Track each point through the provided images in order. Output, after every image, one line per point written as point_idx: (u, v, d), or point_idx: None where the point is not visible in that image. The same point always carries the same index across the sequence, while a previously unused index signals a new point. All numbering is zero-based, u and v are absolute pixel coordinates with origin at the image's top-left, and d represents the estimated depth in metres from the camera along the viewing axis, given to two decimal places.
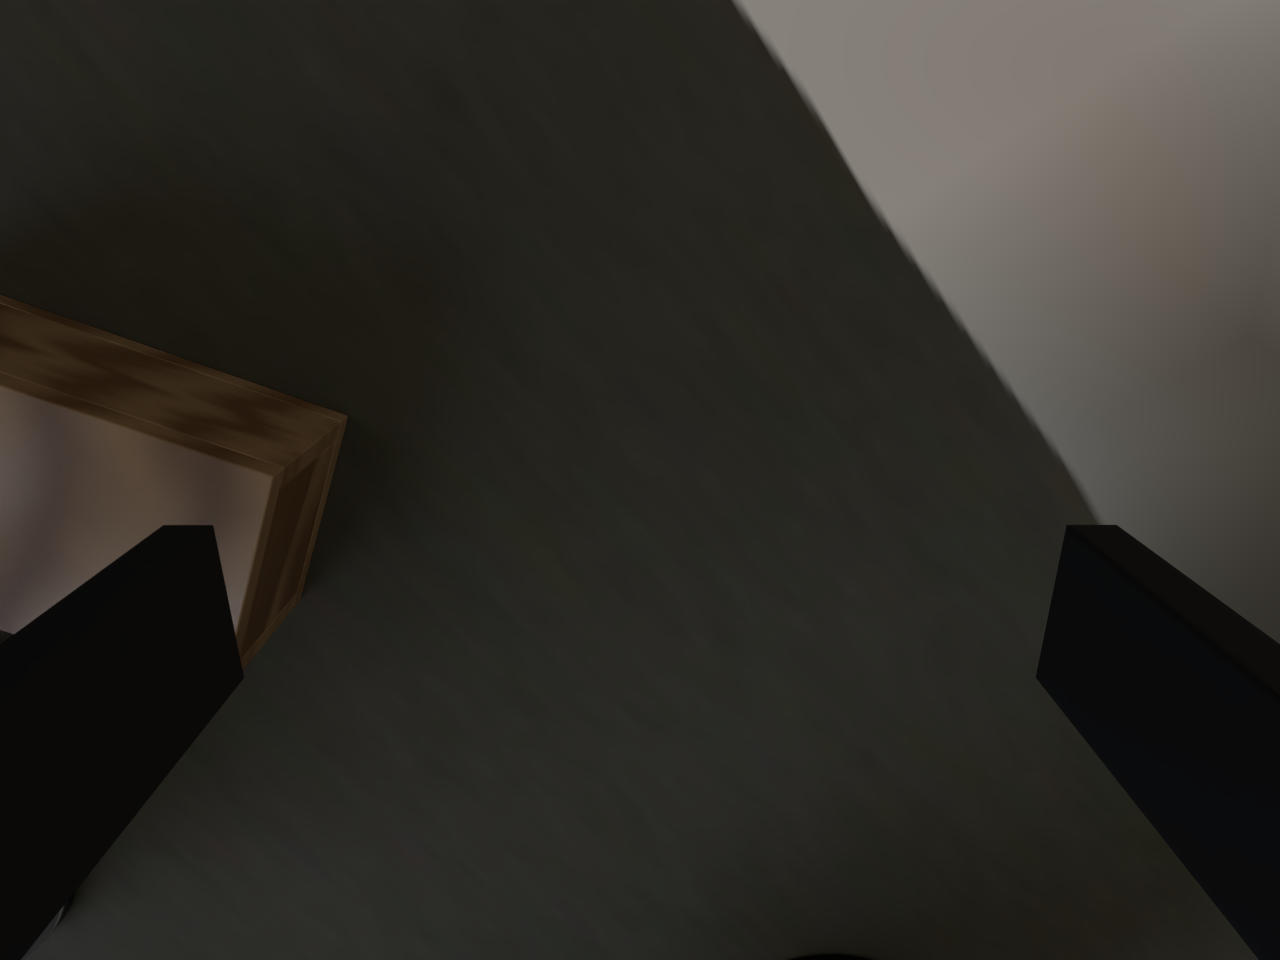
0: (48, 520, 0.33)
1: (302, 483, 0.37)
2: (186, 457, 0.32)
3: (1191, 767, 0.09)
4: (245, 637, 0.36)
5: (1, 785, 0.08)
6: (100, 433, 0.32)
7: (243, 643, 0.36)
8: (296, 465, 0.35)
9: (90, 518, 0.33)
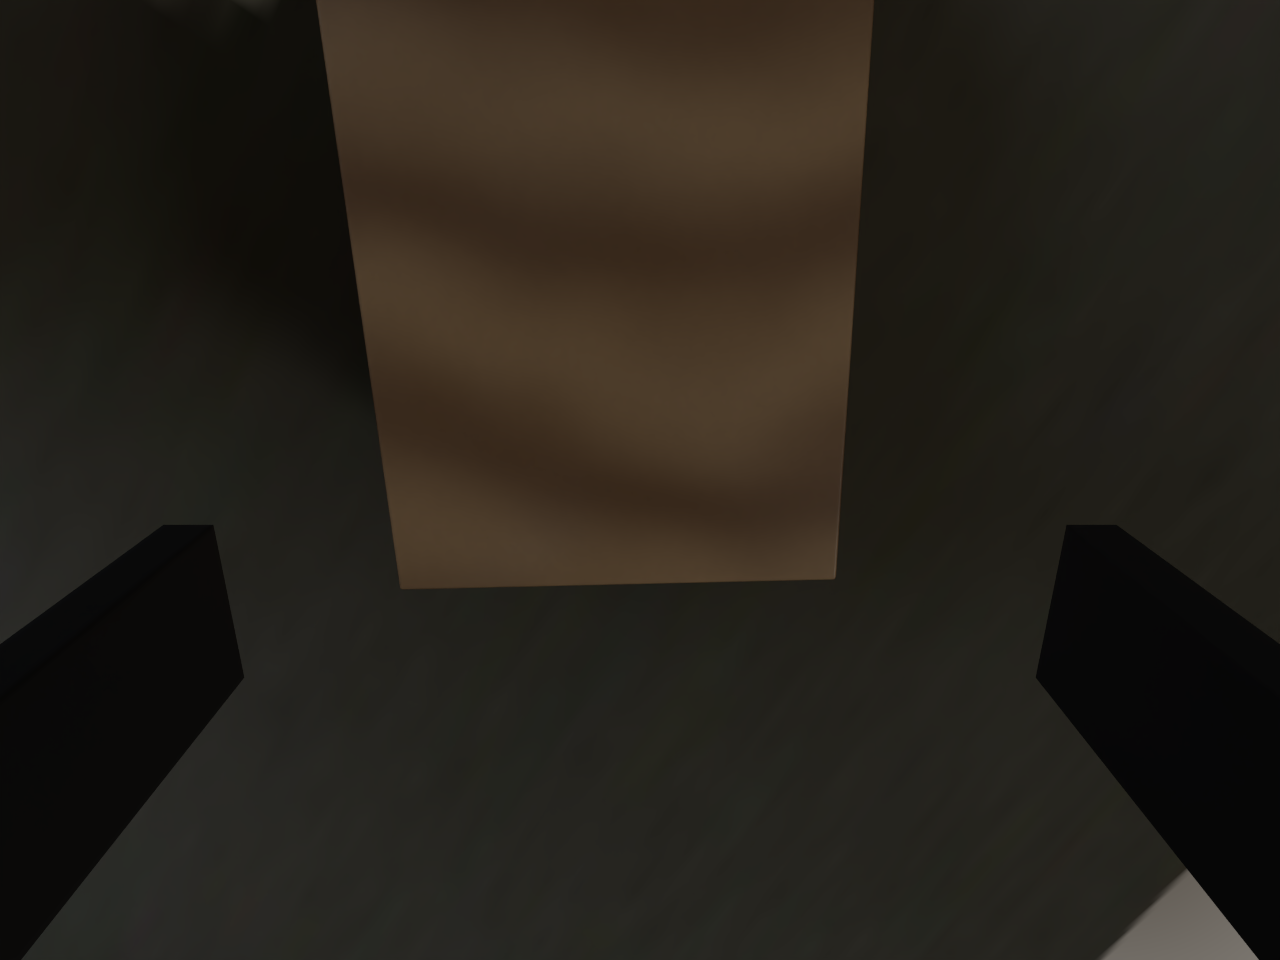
0: (626, 254, 0.18)
1: None
2: (827, 454, 0.19)
3: (1191, 767, 0.09)
4: None
5: (1, 785, 0.08)
6: (827, 316, 0.18)
7: None
8: None
9: (658, 325, 0.18)
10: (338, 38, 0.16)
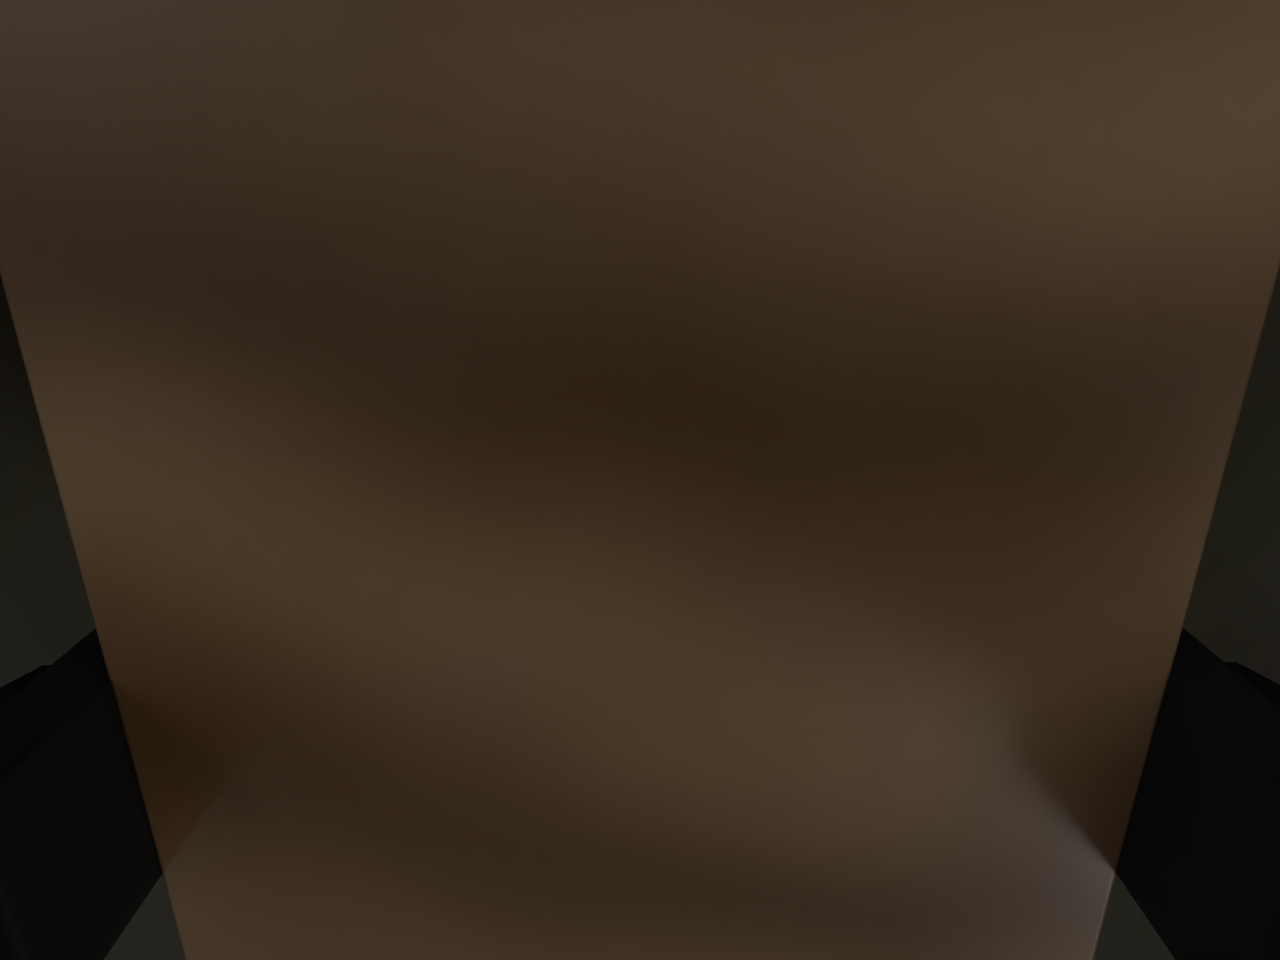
0: (689, 416, 0.07)
1: None
2: (1095, 822, 0.09)
3: None
4: None
5: (125, 741, 0.09)
6: (1143, 560, 0.08)
7: None
8: None
9: (754, 568, 0.08)
10: None
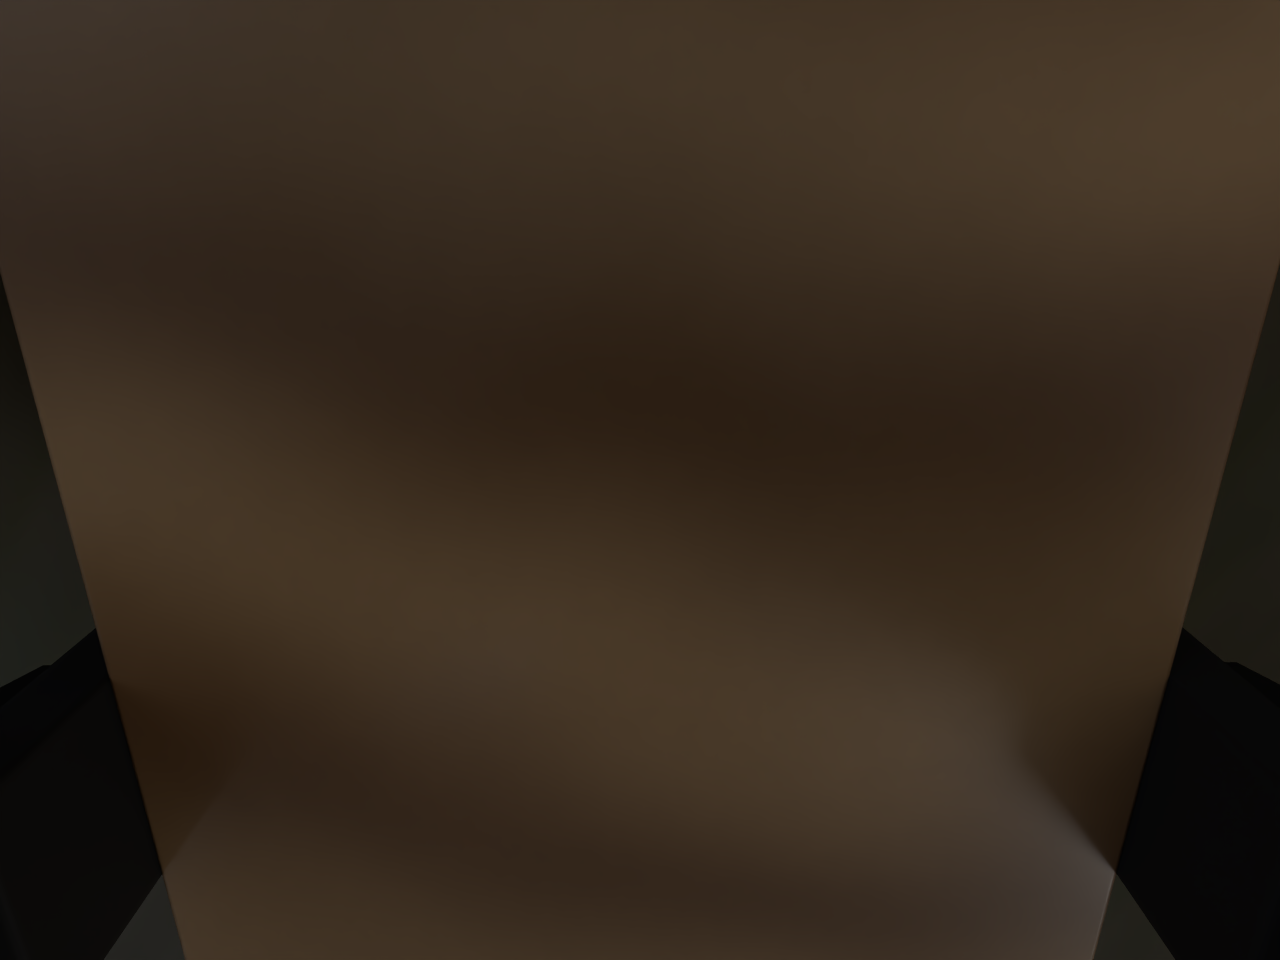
0: (690, 414, 0.07)
1: None
2: (1095, 822, 0.09)
3: None
4: None
5: (125, 741, 0.09)
6: (1142, 559, 0.08)
7: None
8: None
9: (754, 568, 0.08)
10: None
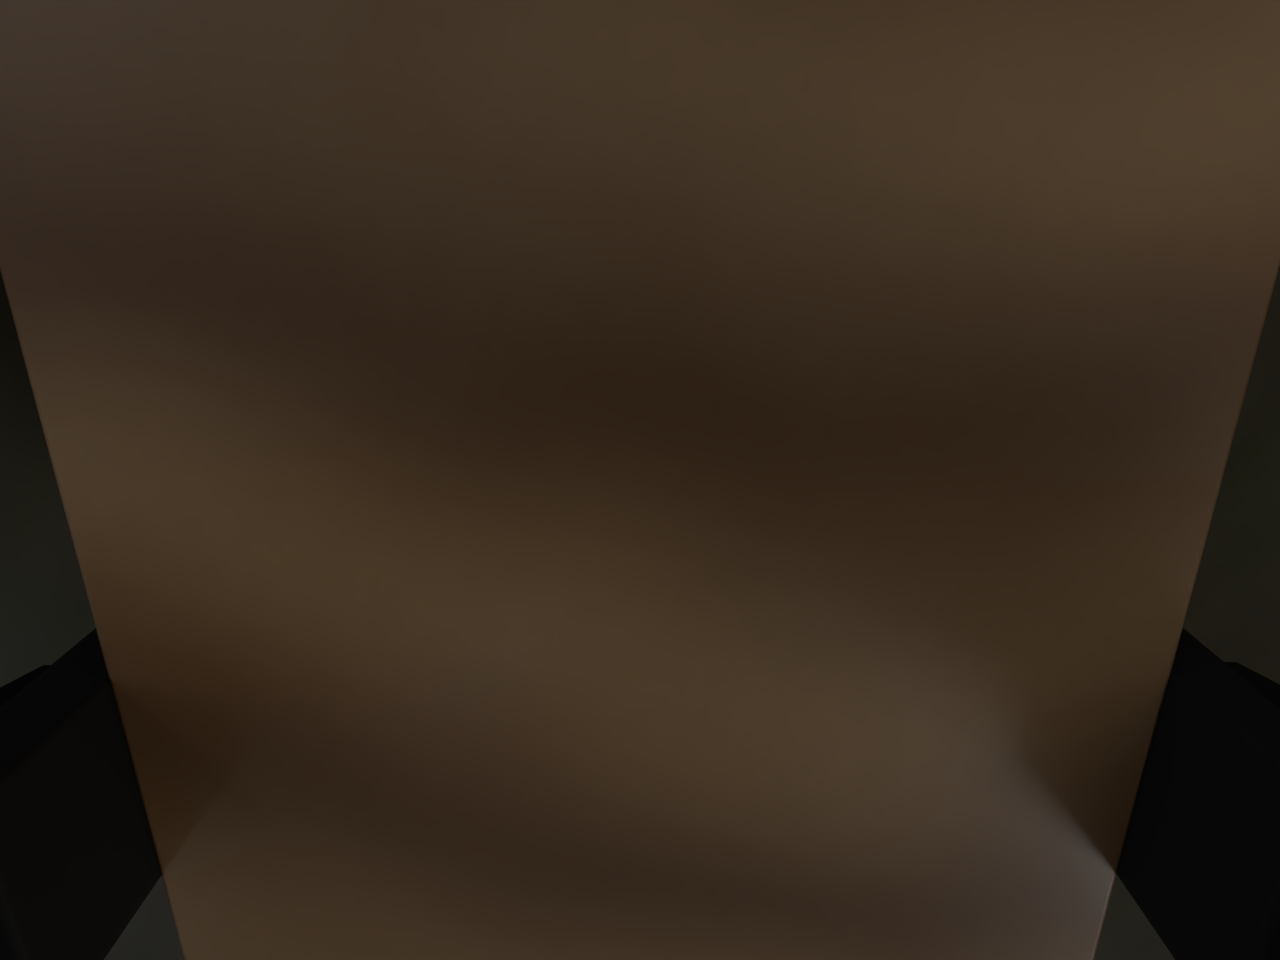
0: (690, 414, 0.07)
1: None
2: (1095, 823, 0.09)
3: None
4: None
5: (125, 741, 0.09)
6: (1143, 559, 0.08)
7: None
8: None
9: (754, 568, 0.08)
10: None
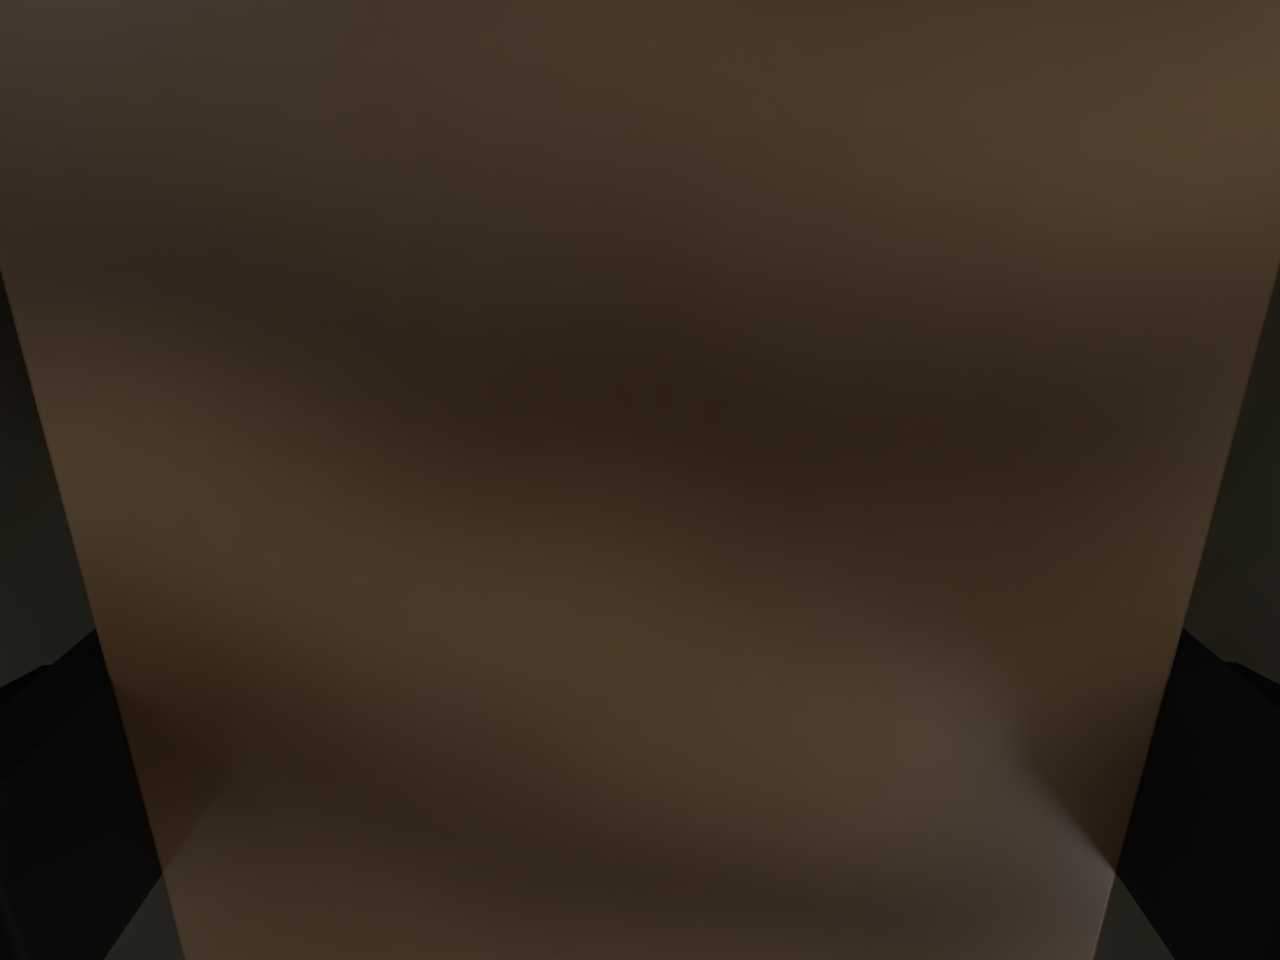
0: (690, 414, 0.07)
1: None
2: (1095, 823, 0.09)
3: None
4: None
5: (124, 742, 0.09)
6: (1143, 559, 0.08)
7: None
8: None
9: (754, 567, 0.08)
10: None
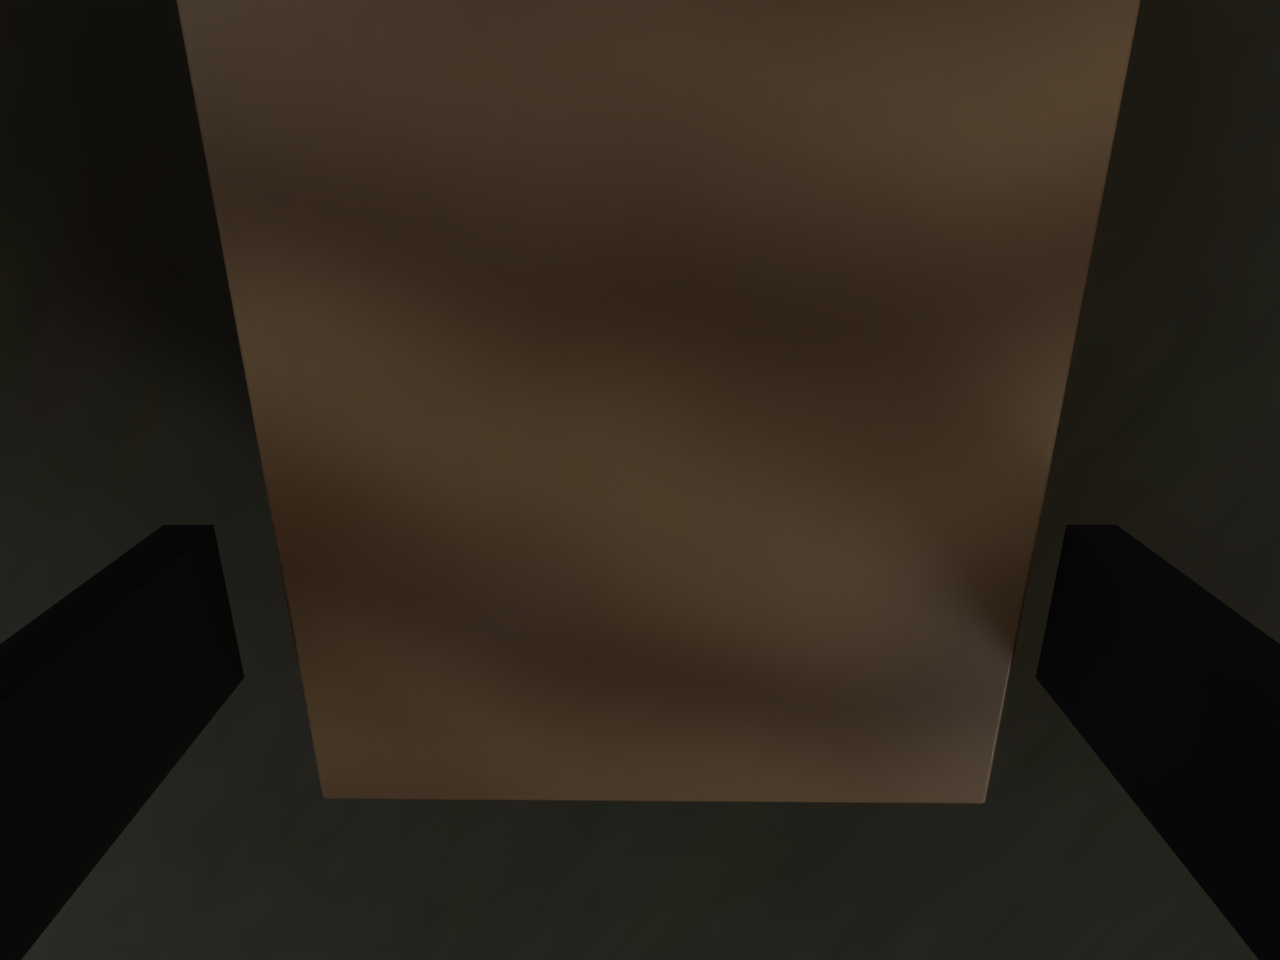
0: (689, 312, 0.11)
1: None
2: (992, 629, 0.12)
3: (1191, 767, 0.09)
4: None
5: (0, 784, 0.08)
6: (1016, 421, 0.11)
7: None
8: None
9: (736, 427, 0.11)
10: None
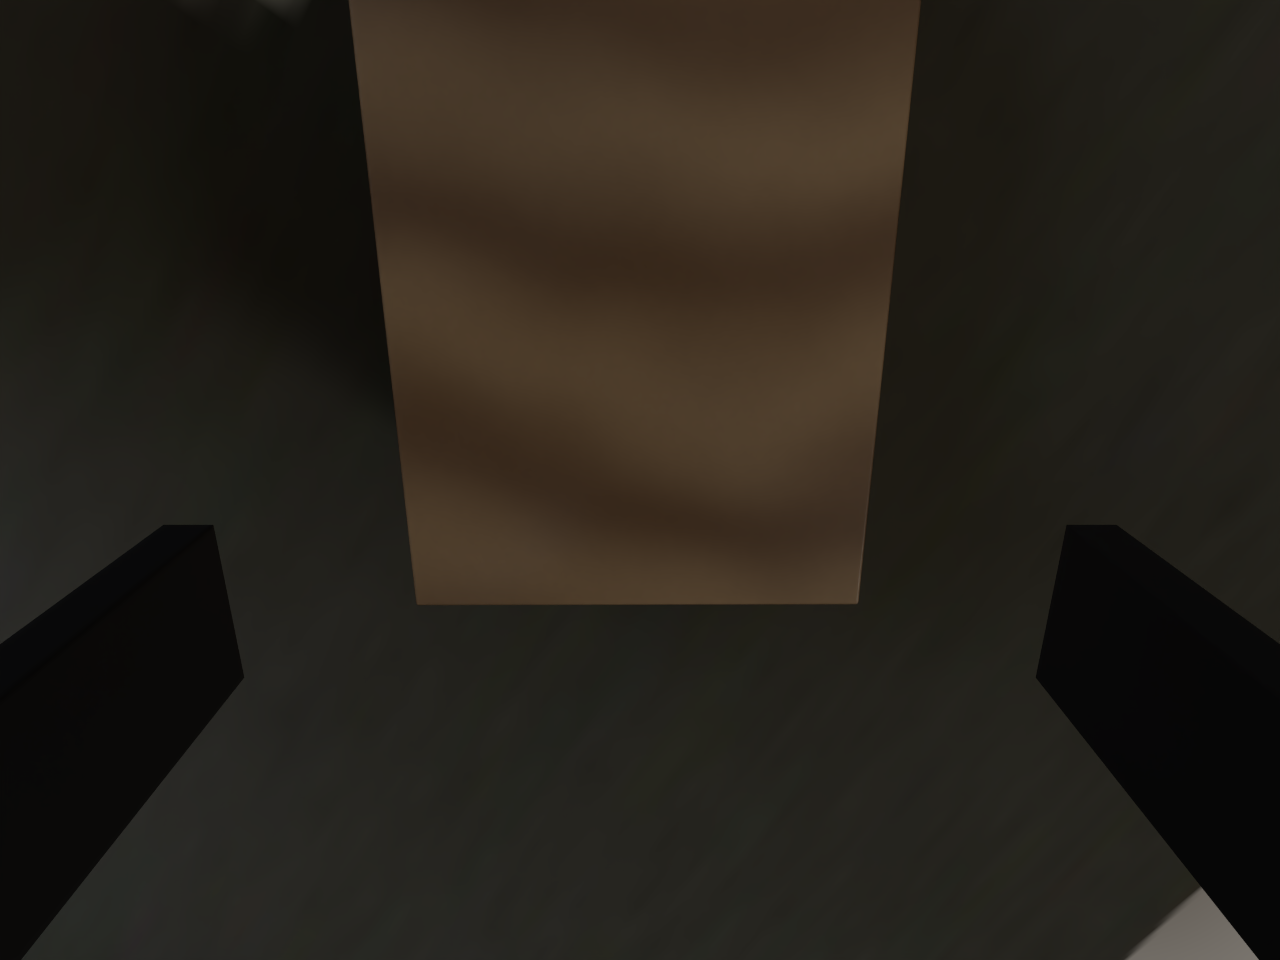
0: (657, 272, 0.17)
1: None
2: (854, 479, 0.19)
3: (1191, 767, 0.09)
4: None
5: (1, 783, 0.08)
6: (859, 340, 0.18)
7: None
8: None
9: (687, 345, 0.18)
10: (371, 47, 0.16)
